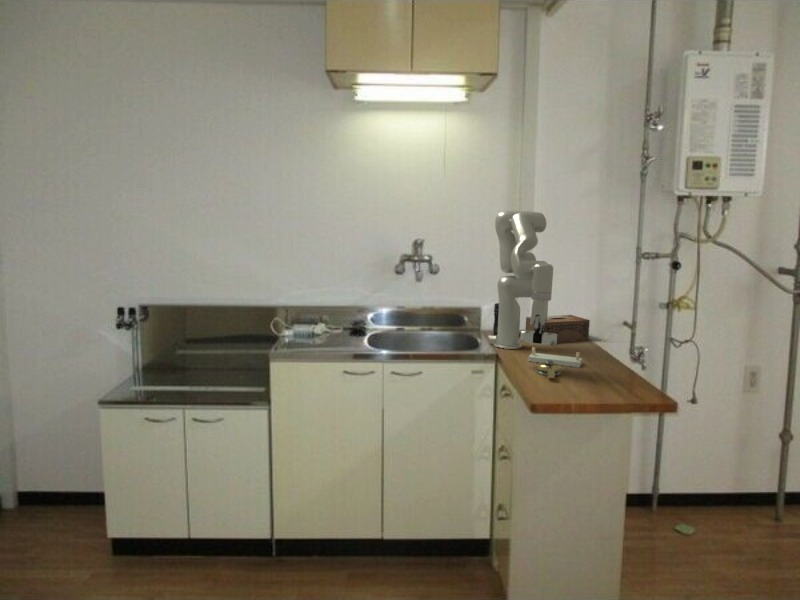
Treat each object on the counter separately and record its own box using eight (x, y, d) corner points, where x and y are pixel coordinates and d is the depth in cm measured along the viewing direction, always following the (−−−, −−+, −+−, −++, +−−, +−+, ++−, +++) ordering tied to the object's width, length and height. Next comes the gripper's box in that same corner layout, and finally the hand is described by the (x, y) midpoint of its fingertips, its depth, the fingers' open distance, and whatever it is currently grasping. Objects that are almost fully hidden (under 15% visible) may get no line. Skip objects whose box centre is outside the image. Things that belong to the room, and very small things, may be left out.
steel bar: (555, 346, 235) (556, 335, 234) (519, 341, 240) (519, 331, 240) (557, 343, 239) (557, 333, 238) (521, 339, 244) (522, 329, 243)
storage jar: (514, 337, 295) (516, 306, 292) (494, 336, 295) (495, 306, 293) (511, 332, 305) (513, 303, 302) (491, 332, 305) (493, 302, 302)
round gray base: (534, 374, 229) (534, 372, 229) (538, 368, 237) (538, 366, 237) (558, 377, 225) (558, 375, 225) (562, 371, 234) (562, 369, 233)
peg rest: (528, 361, 248) (528, 349, 247) (532, 357, 255) (532, 345, 254) (579, 367, 240) (580, 355, 239) (581, 363, 247) (582, 350, 247)
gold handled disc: (537, 366, 235) (537, 358, 235) (558, 368, 234) (558, 359, 234) (539, 377, 221) (540, 368, 220) (562, 378, 220) (563, 369, 219)
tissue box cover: (569, 334, 305) (571, 314, 303) (588, 340, 292) (589, 320, 290) (525, 337, 296) (526, 317, 294) (542, 343, 282) (543, 322, 281)
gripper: (535, 291, 245) (532, 336, 248) (527, 298, 230) (524, 345, 233) (554, 293, 242) (551, 338, 246) (547, 300, 227) (543, 347, 230)
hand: (538, 341), depth 239 cm, fingers closed on steel bar, 4 cm apart
